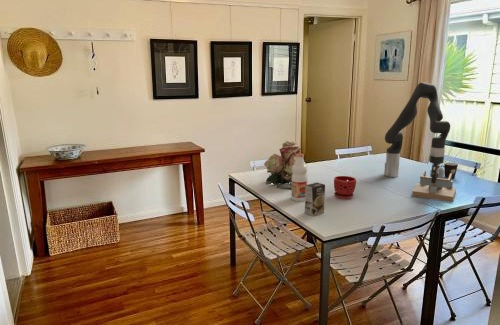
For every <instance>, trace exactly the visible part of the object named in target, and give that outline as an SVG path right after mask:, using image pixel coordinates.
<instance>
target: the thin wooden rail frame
mask: <svg viewBox="0 0 500 325" xmlns="http://www.w3.org/2000/svg"><path fill="white" fill-rule="evenodd" d="M451 177H452V173H450V175H449V178H443V179H441V178H436V182H435V183H431V180H432V177H430V176H427V170H426V169H425V170H424V171H422V174H421V175H420V176H419V183H420V184H421V185H428V186H436V187H443V188H448V187H449V182H450V181H452V179H451Z"/></svg>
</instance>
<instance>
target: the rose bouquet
mask: <svg viewBox="0 0 500 325" xmlns="http://www.w3.org/2000/svg"><path fill="white" fill-rule="evenodd" d="M301 150H302V148H301V147H299V146H298V143H297V142H295V141H294V140H293V141H288V140H285V142H283V143H282V146H281V148H279V152H280V155H279V154H276V153H274V154H272V155H270V157H269V158H268V159H267V160H266V161H265V162H264V164H263V165H264V166H265V168H266V170H267V171H266V173H267V174H268V177H267V178H266V180H265V184H266V183H267V184H271V183H273V184H275V185H272V186H273V187H275V186H276V188H277V189H278V188H279V189H287V188H289V189H291V186H292V174H293V172H292V166H293V165H294V164H295V161H296V154H299V153H300V154H301ZM304 163H305V159H304ZM269 173H270V174H269ZM289 182H290V184H289ZM279 183H281V185H277V184H279ZM285 183H288V184H285ZM267 184H266V185H267Z"/></svg>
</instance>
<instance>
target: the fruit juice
mask: <svg viewBox="0 0 500 325" xmlns="http://www.w3.org/2000/svg"><path fill="white" fill-rule="evenodd" d="M304 160H305V154H304V153H301V152H300V153H299V154H296V161H295V164H294V165H293V166H292V172H293V174H292V182H291V183H292V186H291V188H290V190H291V200H292V201H294V202H305V193H306V185H308V175H307V172H308V166H307V164H306V163H305V162H304Z"/></svg>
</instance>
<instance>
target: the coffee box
mask: <svg viewBox="0 0 500 325" xmlns="http://www.w3.org/2000/svg"><path fill="white" fill-rule="evenodd" d="M325 194H326V184H324V183H321V182H313V183H310V184H307V185H306V193H305V201H304V213H305V214H307V215H309V216H311V217H315V216H317V215H320V214H324V213H325V199H326V197H325V196H326V195H325Z"/></svg>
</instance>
